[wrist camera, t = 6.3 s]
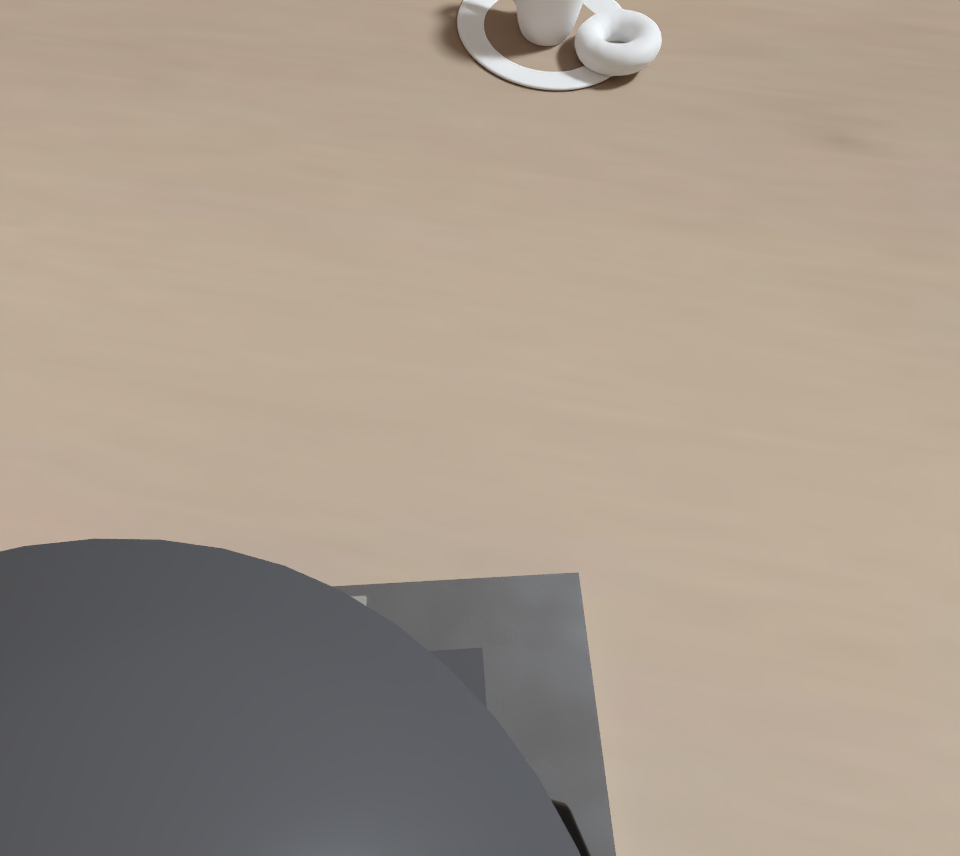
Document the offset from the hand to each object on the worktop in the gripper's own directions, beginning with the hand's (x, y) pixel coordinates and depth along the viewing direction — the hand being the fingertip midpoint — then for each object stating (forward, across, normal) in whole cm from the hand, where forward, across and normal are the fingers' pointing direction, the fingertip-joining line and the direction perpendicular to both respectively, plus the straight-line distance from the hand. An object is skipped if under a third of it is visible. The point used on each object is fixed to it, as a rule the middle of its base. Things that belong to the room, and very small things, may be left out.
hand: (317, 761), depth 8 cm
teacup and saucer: (+26, +1, -11) cm, 29 cm away
